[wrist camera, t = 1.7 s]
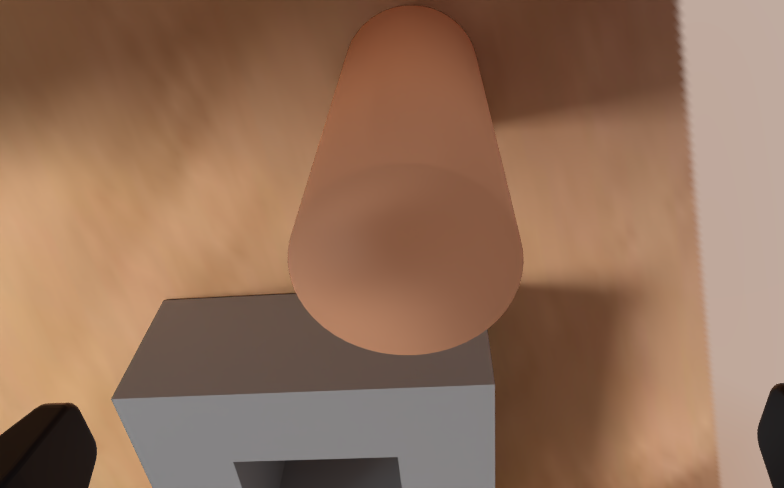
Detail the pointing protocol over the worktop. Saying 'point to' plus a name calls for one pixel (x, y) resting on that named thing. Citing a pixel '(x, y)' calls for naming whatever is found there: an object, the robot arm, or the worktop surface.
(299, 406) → the socket block
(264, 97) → the worktop surface
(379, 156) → the dowel
